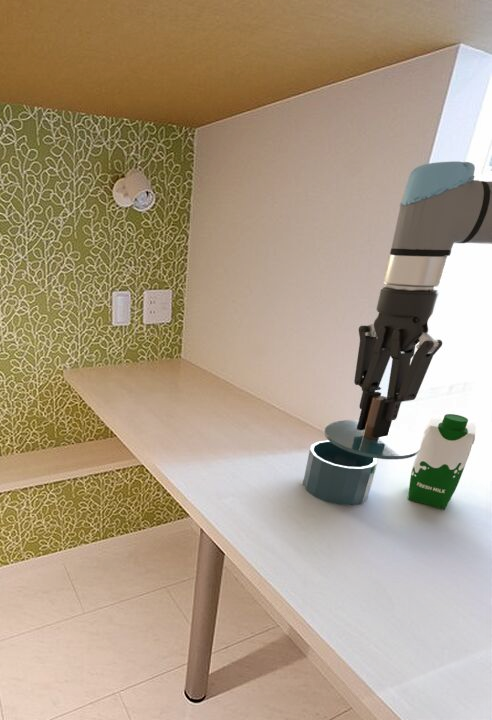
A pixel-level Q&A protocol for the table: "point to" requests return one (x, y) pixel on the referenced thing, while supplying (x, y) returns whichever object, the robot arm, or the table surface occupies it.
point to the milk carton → (441, 459)
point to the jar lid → (366, 445)
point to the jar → (338, 474)
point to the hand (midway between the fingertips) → (372, 432)
